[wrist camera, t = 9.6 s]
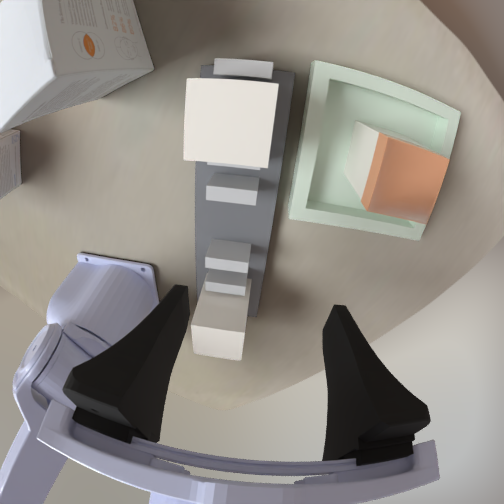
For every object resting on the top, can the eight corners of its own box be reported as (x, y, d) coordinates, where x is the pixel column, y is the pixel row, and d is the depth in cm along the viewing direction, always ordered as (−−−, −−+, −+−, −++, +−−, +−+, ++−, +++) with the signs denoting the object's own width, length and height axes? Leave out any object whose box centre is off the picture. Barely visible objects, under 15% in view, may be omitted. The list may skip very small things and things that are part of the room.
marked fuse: (342, 173, 18) (366, 211, 13) (354, 119, 16) (387, 136, 11) (391, 184, 18) (426, 224, 13) (405, 134, 16) (449, 159, 11)
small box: (77, 26, 12) (-23, 28, 3) (133, -9, 11) (38, -41, 2) (98, 101, 16) (-5, 137, 8) (157, 71, 15) (54, 78, 6)
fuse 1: (210, 135, 17) (183, 160, 12) (214, 79, 15) (186, 78, 10) (270, 141, 17) (267, 168, 12) (277, 84, 15) (278, 83, 10)
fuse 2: (207, 303, 26) (193, 353, 21) (206, 272, 24) (190, 324, 19) (247, 309, 26) (241, 360, 21) (251, 278, 24) (244, 332, 19)
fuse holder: (199, 305, 28) (192, 329, 25) (204, 62, 15) (190, 58, 12) (256, 313, 28) (254, 338, 25) (294, 69, 14) (299, 66, 12)
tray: (287, 206, 20) (288, 218, 19) (311, 62, 14) (315, 60, 12) (410, 228, 20) (419, 240, 19) (446, 107, 14) (460, 112, 12)
